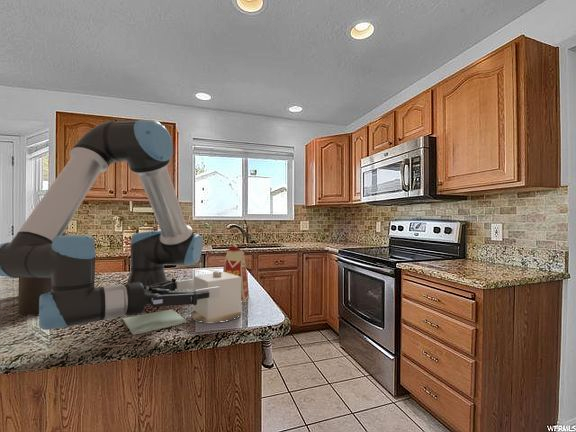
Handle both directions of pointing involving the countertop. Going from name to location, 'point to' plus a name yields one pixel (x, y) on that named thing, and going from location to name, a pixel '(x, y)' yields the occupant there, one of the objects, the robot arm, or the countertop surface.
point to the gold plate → (216, 319)
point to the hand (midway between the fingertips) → (208, 286)
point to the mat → (153, 321)
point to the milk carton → (237, 268)
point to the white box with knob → (228, 294)
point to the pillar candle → (32, 294)
